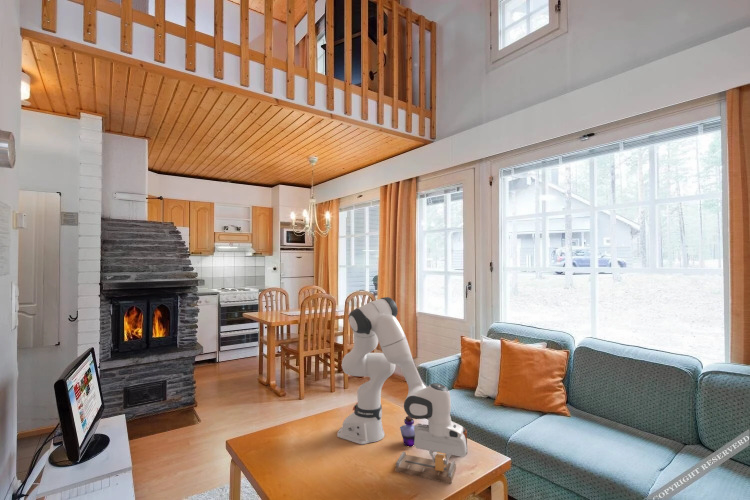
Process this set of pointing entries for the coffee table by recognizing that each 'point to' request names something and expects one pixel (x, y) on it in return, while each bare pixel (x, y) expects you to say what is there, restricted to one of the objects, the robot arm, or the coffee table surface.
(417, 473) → the fader board
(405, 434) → the potion bottle
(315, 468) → the coffee table surface
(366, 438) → the robot arm
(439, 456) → the fader knob
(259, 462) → the coffee table surface
